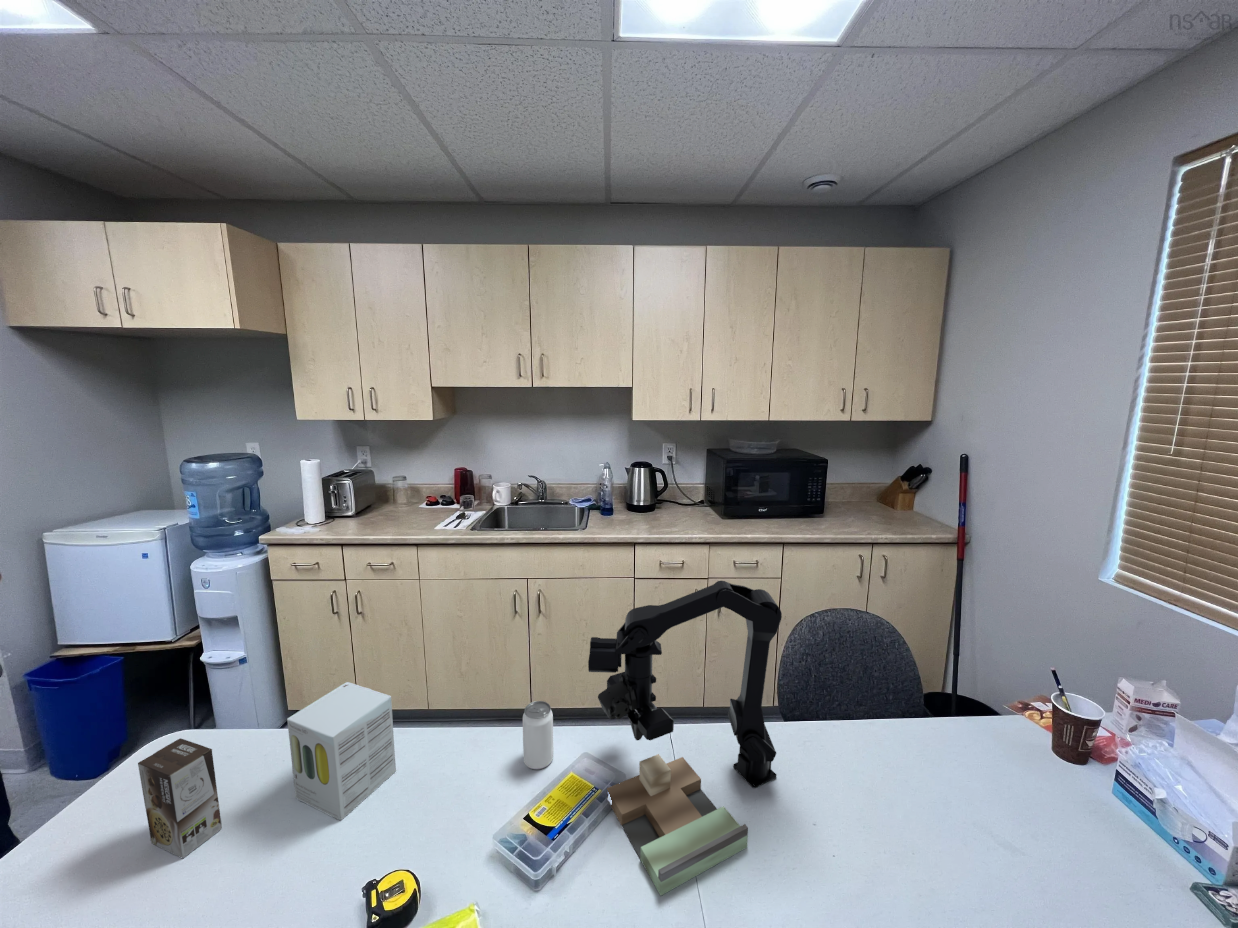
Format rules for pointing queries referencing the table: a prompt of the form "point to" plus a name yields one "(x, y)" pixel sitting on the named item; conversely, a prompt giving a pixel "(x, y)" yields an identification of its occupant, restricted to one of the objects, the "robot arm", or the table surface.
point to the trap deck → (676, 827)
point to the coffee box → (180, 796)
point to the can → (538, 735)
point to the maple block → (654, 774)
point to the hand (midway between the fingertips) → (637, 738)
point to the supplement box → (342, 748)
